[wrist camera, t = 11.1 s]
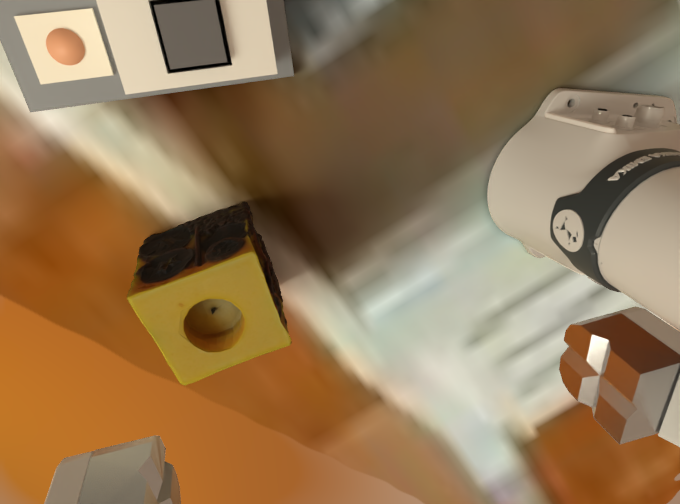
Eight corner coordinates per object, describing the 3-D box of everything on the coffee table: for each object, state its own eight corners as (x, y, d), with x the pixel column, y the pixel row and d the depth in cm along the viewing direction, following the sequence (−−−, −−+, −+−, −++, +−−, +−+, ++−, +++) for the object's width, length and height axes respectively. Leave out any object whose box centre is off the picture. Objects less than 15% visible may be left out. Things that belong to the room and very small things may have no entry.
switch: (213, 1, 33) (214, -2, 28) (224, 55, 34) (227, 61, 29) (162, 7, 32) (153, 5, 27) (176, 61, 34) (170, 69, 29)
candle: (246, 199, 42) (256, 245, 33) (281, 284, 47) (297, 344, 38) (139, 236, 41) (121, 294, 32) (187, 320, 46) (182, 389, 37)
